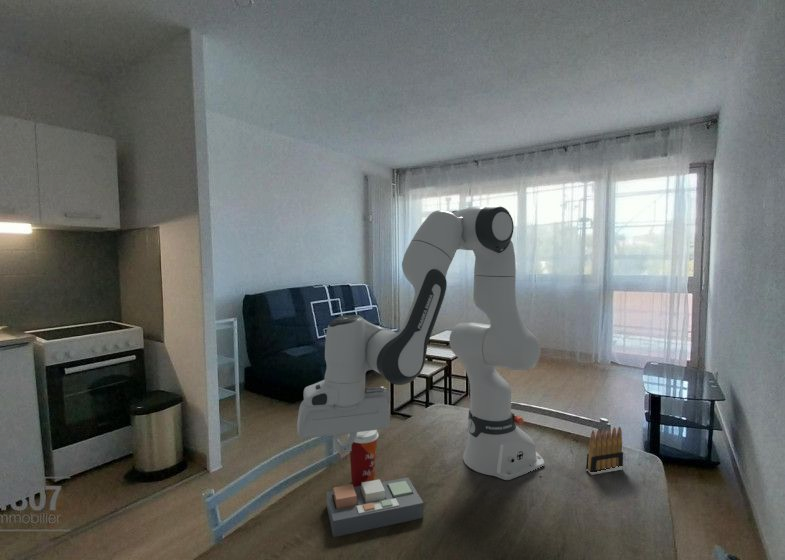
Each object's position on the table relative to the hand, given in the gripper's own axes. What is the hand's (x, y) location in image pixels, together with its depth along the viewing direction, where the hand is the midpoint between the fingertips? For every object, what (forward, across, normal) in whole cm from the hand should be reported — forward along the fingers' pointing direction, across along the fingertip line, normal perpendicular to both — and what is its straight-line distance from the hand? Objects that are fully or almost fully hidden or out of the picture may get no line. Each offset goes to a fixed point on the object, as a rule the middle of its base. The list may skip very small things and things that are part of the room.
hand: (344, 451), depth 84 cm
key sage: (+13, -13, 0) cm, 19 cm away
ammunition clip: (+14, -71, +3) cm, 73 cm away
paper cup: (+15, -7, -10) cm, 19 cm away
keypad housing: (+15, -7, +1) cm, 16 cm away
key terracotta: (+12, 0, 0) cm, 12 cm away
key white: (+12, -7, 0) cm, 14 cm away
